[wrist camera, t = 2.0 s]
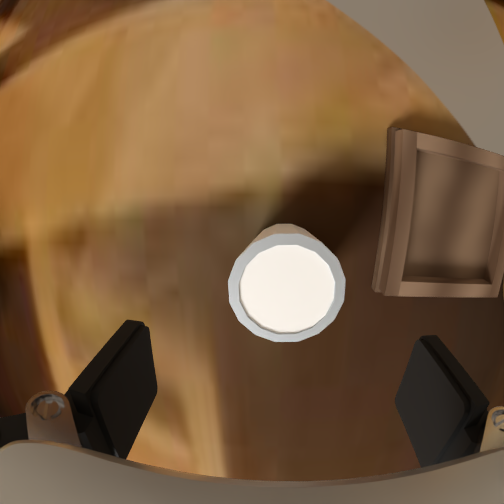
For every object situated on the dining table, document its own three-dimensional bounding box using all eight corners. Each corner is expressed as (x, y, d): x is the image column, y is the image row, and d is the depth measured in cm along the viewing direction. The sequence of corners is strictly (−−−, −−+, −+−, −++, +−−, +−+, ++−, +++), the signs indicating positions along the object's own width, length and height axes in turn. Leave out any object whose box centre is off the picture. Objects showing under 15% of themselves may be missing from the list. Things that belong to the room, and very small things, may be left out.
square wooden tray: (503, 158, 20) (519, 158, 18) (484, 290, 23) (498, 300, 21) (387, 128, 21) (399, 124, 18) (371, 287, 24) (380, 299, 22)
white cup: (248, 207, 23) (236, 222, 17) (336, 224, 23) (359, 245, 16) (234, 291, 25) (220, 333, 18) (316, 305, 25) (329, 350, 18)
